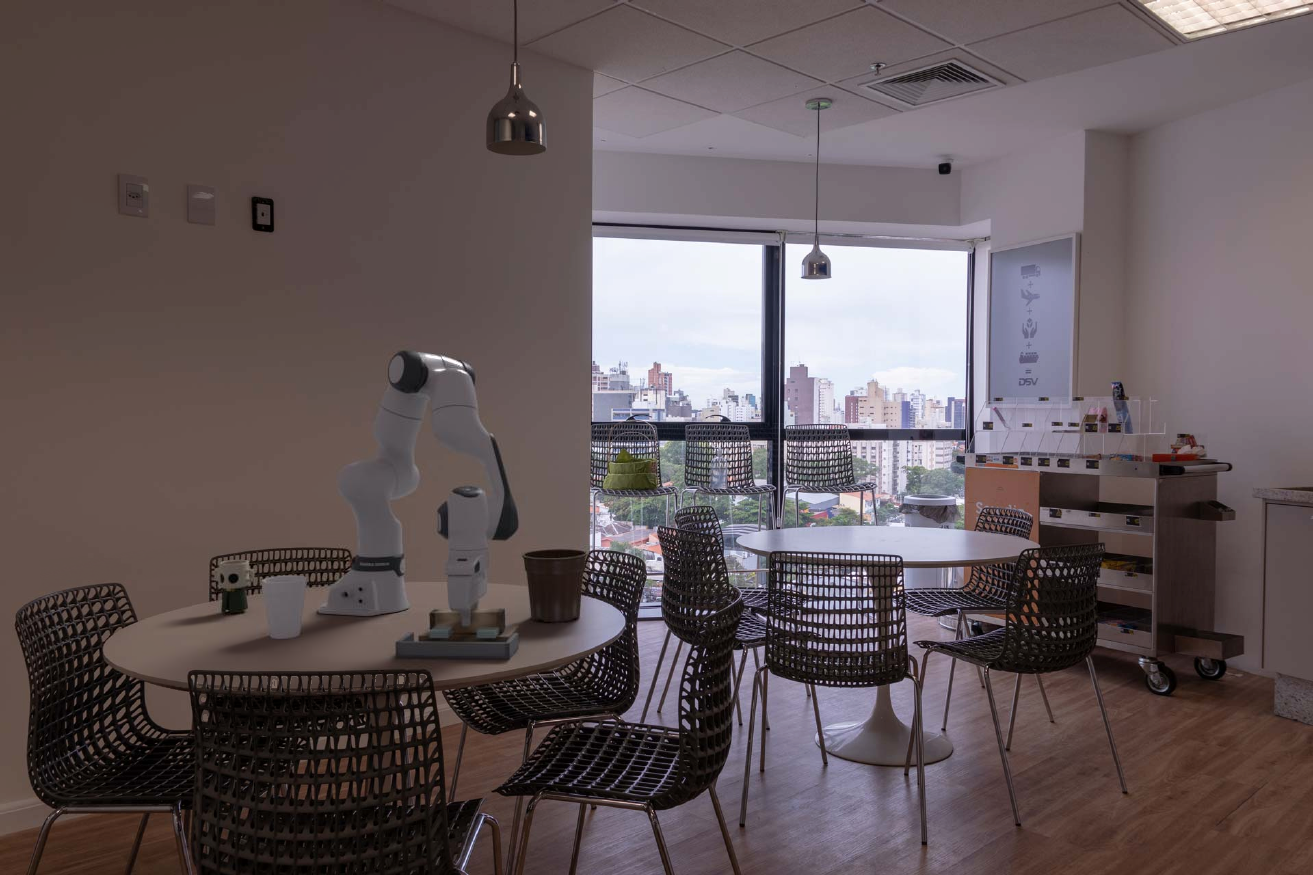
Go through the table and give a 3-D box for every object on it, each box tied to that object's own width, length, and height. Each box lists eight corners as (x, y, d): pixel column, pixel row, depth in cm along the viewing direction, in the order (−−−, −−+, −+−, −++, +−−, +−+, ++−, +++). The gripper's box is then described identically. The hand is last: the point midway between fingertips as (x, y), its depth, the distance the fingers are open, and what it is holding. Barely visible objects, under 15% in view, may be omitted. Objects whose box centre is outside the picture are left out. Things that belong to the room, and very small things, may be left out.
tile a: (429, 637, 199) (429, 630, 199) (434, 633, 203) (434, 626, 203) (447, 638, 199) (447, 631, 199) (452, 633, 203) (452, 626, 203)
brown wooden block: (430, 633, 203) (429, 612, 203) (434, 629, 207) (433, 609, 207) (502, 632, 203) (501, 612, 202) (505, 628, 206) (504, 608, 206)
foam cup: (264, 642, 206) (263, 584, 205) (261, 633, 214) (260, 577, 214) (309, 637, 210) (308, 580, 210) (304, 628, 218) (303, 574, 218)
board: (418, 647, 201) (418, 635, 201) (432, 635, 211) (432, 624, 211) (509, 648, 200) (509, 636, 200) (518, 636, 210) (518, 625, 210)
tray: (395, 657, 192) (395, 642, 192) (409, 646, 201) (409, 631, 201) (509, 659, 191) (509, 643, 191) (518, 648, 200) (518, 633, 200)
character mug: (206, 614, 234) (205, 563, 233) (223, 608, 241) (222, 559, 240) (246, 616, 232) (245, 564, 232) (262, 609, 239) (261, 560, 239)
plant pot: (515, 613, 234) (514, 550, 234) (575, 608, 240) (575, 546, 240) (532, 627, 219) (532, 560, 219) (596, 621, 226) (596, 555, 225)
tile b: (476, 637, 199) (476, 631, 199) (481, 633, 203) (480, 626, 203) (495, 638, 199) (495, 631, 199) (499, 633, 203) (499, 627, 203)
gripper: (466, 553, 215) (467, 612, 215) (442, 568, 194) (442, 633, 195) (493, 553, 214) (494, 612, 215) (471, 568, 194) (472, 633, 194)
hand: (469, 622), depth 205 cm, fingers closed on brown wooden block, 3 cm apart
